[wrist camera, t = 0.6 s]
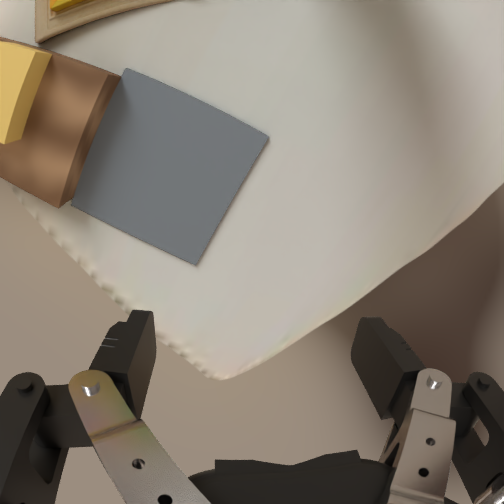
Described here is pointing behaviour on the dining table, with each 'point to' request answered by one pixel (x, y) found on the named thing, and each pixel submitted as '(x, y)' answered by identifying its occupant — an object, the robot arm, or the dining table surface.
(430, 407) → the robot arm
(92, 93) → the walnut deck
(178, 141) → the slate mat
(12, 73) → the ochre tile
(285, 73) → the dining table surface
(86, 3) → the wooden puzzle
